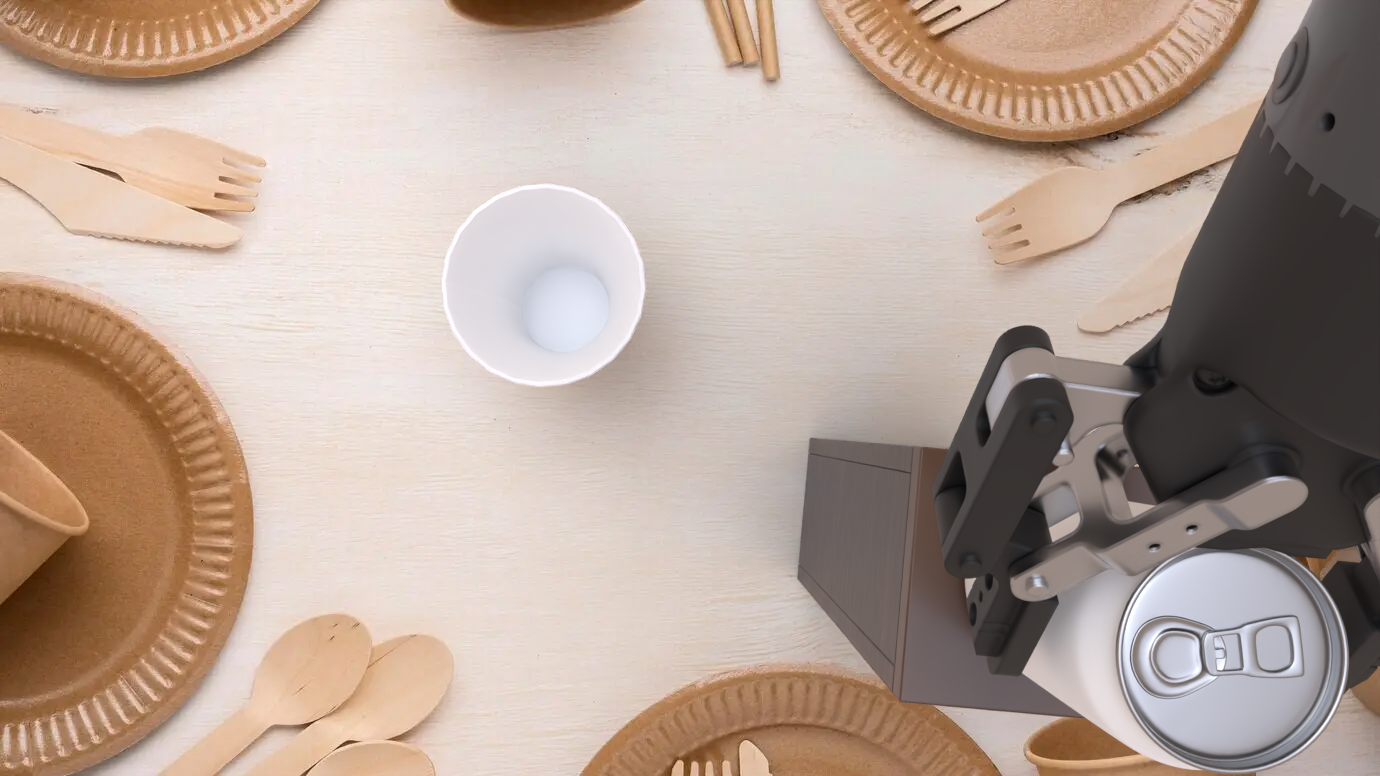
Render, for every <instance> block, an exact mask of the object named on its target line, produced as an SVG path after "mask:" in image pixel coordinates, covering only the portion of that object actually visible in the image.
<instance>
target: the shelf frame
mask: <svg viewBox="0 0 1380 776" xmlns="http://www.w3.org/2000/svg"><path fill="white" fill-rule="evenodd" d="M915 446H916V445H908V444H894V443H882V442H869V441H857V440H856V441H855V440H844V439H843V440H842V439H830V438H829V439H828V438H817V437H810V438H809V443H808V454H807V464H806V475H805V476H806V478H805V486H804V487H805V488H804V498H803V508H802V509H803V510H802V520H801V532H800V542H799V543H800V546H799V555H798V566H797V568H798V569H797V580H798V581H799V583H800V584H801V585H802V586H803V587H804V589H805V590H806V592H808V594H809V595H810V596H811V597H812V598H813V600H814V601H815V602H816V603H817V604H818V605H819V607H820V608H821V609H822V610H823V612H824V613H825V614H826V616H828V618H829V619H830V620H831V622H833V623H834V625H835V626H836V627H837V628H838V630H839V631H840V632H841V633H842V634H843V636H844V637H845V638H846V639H847V640H848V641H849V643H850V644H851V645H852V646H853V648H854V649H855V650H856V651H857V653H858V654H859V655H860V656H861V657H862V658H863V660H864V661H865V662H866V664H867V665H868V666H869V667H870V669H871V670H872V671H873V672H874V673H875V674H876V675H877V677H878V678H879V679H880V681H882V683H883V684H884V685H885V686H886V687H887V689H888V690H889V691H890V692H891V693H892V694H893V684H894V672H895V660H896V648H897V636H898V625H899V613H900V601H901V589H902V577H903V565H904V554H905V542H906V530H907V518H908V506H909V495H910V483H911V471H912V459H913V448H914V447H915Z"/></svg>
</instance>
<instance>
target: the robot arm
mask: <svg viewBox="0 0 1380 776" xmlns="http://www.w3.org/2000/svg"><path fill="white" fill-rule="evenodd" d="M1201 225H1202V226H1201V227H1200V230H1199V231H1198V232H1197V233H1198V234H1197V235H1196V237H1195V240H1194V242H1193V243H1192V246H1191V248H1190V250H1189V252H1188V254H1187V256H1186V258H1185V260H1184V262H1183V265H1182V268H1181V271H1180V273H1179V277H1178V280H1177V283H1176V287H1175V290H1174V294H1173V298H1172V301H1171V305H1170V308H1169V312H1168V314H1167V317H1166V320H1165V322H1164V324H1163V325H1162V327H1161V328H1160V330H1159V331H1158V332H1157V333H1156V334H1155V336H1153V337H1152V338H1151V339H1150V340H1149V341H1148V342H1147V343H1146V344H1145V345H1143V346H1142V347H1141V348H1140V349H1138V350H1137V351H1135V352H1134V353H1133V354H1131V355H1130V356H1129V357H1128V358H1127V359H1126V360H1124V362H1123V363H1122V364H1117V363H1109V362H1101V361H1097V360H1096V361H1094V360H1087V359H1082V358H1081V359H1080V358H1074V357H1066V356H1060V355H1056V353H1055V350H1054V347H1053V344H1052V341H1051V338H1050V335H1049V334H1048V332H1047V331H1046V330H1045V329H1043V328H1041V327H1039V326H1036V325H1029V324H1024V325H1019V326H1014V327H1012V328H1009V329H1007V330H1006V331H1004V332H1003V333H1002V334H1001V335H1000V336H999V337H998V338H997V340H996V342H995V344H994V346H993V348H992V351H991V353H990V355H989V357H988V360H987V362H986V364H985V366H984V369H983V371H982V374H981V375H980V378H979V380H978V382H977V384H976V387H975V389H974V391H973V394H972V396H971V397H970V400H969V402H968V405H967V407H966V409H965V412H964V414H963V415H962V418H961V420H960V423H959V425H958V427H957V430H956V432H955V434H954V436H953V438H952V441H951V443H950V444H949V445H950V446H949V447H948V449H949V450H948V452H947V454H946V456H945V459H944V461H943V463H942V465H941V468H940V470H939V472H938V474H937V477H936V479H935V481H934V483H933V486H932V492H933V498H934V504H935V511H936V517H937V523H938V530H939V536H940V542H941V549H942V555H943V561H944V567H945V569H946V571H947V572H948V573H949V574H950V575H952V576H954V577H958V578H963V579H972V578H976V580H975V581H974V583H973V585H972V589H971V590H970V592H969V595H968V597H967V599H966V603H967V609H968V615H969V620H970V626H971V632H972V638H973V644H974V648H975V652H976V655H980V656H986V658H987V663H988V668H989V671H990V673H991V674H992V675H1001V676H1013V677H1019V676H1020V675H1021V674H1022V672H1023V670H1024V668H1025V666H1026V664H1027V662H1028V661H1029V659H1030V657H1031V655H1032V653H1033V651H1034V649H1035V647H1036V646H1037V644H1038V642H1039V640H1040V638H1041V636H1042V634H1043V632H1044V631H1045V629H1046V627H1047V625H1048V623H1049V621H1050V619H1051V617H1052V615H1053V614H1054V612H1055V610H1056V608H1057V606H1058V604H1059V601H1058V596H1057V594H1059V593H1061V592H1063V591H1065V590H1067V589H1069V588H1071V587H1073V586H1075V585H1077V584H1079V583H1082V582H1084V581H1086V580H1088V579H1090V578H1092V577H1094V576H1096V575H1098V574H1100V573H1102V572H1104V571H1106V570H1109V569H1114V570H1116V571H1118V572H1119V573H1120V574H1122V575H1124V576H1135V575H1138V574H1140V573H1142V572H1145V571H1147V570H1149V569H1151V568H1153V567H1155V566H1157V565H1159V564H1161V563H1163V562H1165V561H1167V560H1169V559H1171V558H1173V557H1175V556H1177V555H1180V554H1182V553H1184V552H1186V551H1188V550H1190V549H1192V548H1194V547H1195V548H1206V549H1217V550H1237V549H1251V548H1267V549H1270V550H1274V551H1277V552H1280V553H1284V554H1287V555H1291V556H1293V557H1295V558H1296V557H1297V558H1306V559H1308V558H1309V559H1318V560H1327V558H1328V557H1329V556H1330V555H1331V553H1332V552H1333V551H1337V550H1345V549H1350V548H1353V547H1355V550H1356V553H1357V554H1358V555H1359V558H1360V562H1358V561H1357V562H1356V561H1349V560H1347V561H1346V560H1337V561H1336V562H1335V563H1334V564H1333V566H1332V567H1331V568H1330V569H1329V571H1328V572H1327V573H1326V574H1325V576H1324V577H1323V578H1322V580H1321V581H1322V583H1323V584H1324V585H1325V587H1326V588H1327V590H1328V591H1329V593H1330V594H1331V596H1332V597H1333V599H1334V601H1335V603H1336V605H1337V607H1338V609H1339V611H1340V614H1341V616H1342V619H1343V622H1344V626H1345V630H1346V634H1347V639H1348V648H1349V669H1348V677H1347V682H1346V687H1345V691H1344V694H1343V696H1344V695H1345V694H1346V693H1347V692H1348V691H1349V690H1350V689H1353V688H1355V687H1356V686H1358V685H1360V684H1362V683H1363V682H1365V681H1368V680H1369V678H1371V676H1372V675H1373V674H1374V673H1375V672H1376V671H1377V670H1378V669H1379V667H1380V0H1311V2H1310V4H1309V6H1308V8H1307V10H1306V12H1305V13H1304V16H1303V18H1302V20H1301V23H1300V24H1299V25H1298V29H1297V30H1296V32H1295V34H1294V35H1293V36H1292V38H1291V39H1290V40H1289V42H1288V44H1287V45H1286V46H1285V48H1284V50H1283V51H1282V53H1281V55H1280V57H1279V60H1278V62H1277V64H1276V67H1275V71H1274V75H1273V79H1272V82H1271V83H1270V86H1269V88H1268V90H1267V92H1266V94H1265V96H1264V98H1263V100H1262V102H1261V104H1260V106H1259V107H1258V110H1257V112H1256V114H1255V116H1254V119H1253V120H1252V123H1251V125H1250V127H1249V129H1248V131H1247V133H1246V135H1245V137H1244V139H1243V141H1242V143H1241V145H1240V148H1239V149H1238V151H1237V154H1236V155H1235V158H1234V160H1233V162H1232V163H1231V166H1230V167H1229V170H1228V171H1227V173H1226V176H1225V178H1224V180H1223V182H1222V184H1221V187H1220V189H1219V191H1217V195H1216V197H1215V198H1214V200H1213V202H1212V205H1211V207H1210V209H1209V210H1208V213H1207V215H1206V217H1205V219H1204V221H1203V223H1202V224H1201ZM1051 463H1052V464H1053V465H1055V466H1059V467H1058V468H1057V469H1056V470H1055V471H1053V472H1052V473H1050V474H1048V475H1046V476H1045V474H1046V472H1047V470H1048V468H1049V467H1050V465H1051ZM1133 466H1137V467H1139V468H1140V470H1141V472H1142V474H1143V476H1144V478H1145V481H1146V483H1147V485H1148V487H1149V489H1150V491H1151V493H1152V495H1153V498H1154V500H1155V502H1156V504H1157V505H1156V506H1155V507H1153V508H1151V509H1149V510H1147V511H1145V512H1143V513H1141V514H1139V515H1137V516H1135V517H1133V515H1132V512H1131V509H1130V506H1129V503H1128V501H1127V498H1126V495H1125V492H1124V488H1123V481H1124V478H1125V476H1126V474H1127V472H1128V471H1129V470H1130V469H1131V468H1132V467H1133ZM1044 476H1045V477H1044ZM1077 512H1079V515H1080V522H1079V525H1078V526H1077V528H1076V529H1075V530H1074V531H1073V532H1071V533H1069V534H1067V535H1065V536H1063V537H1062V538H1060V539H1058V540H1056V541H1054V542H1052V538H1051V535H1050V531H1049V528H1050V527H1052V526H1053V525H1055V524H1057V523H1059V522H1061V521H1063V520H1065V519H1066V518H1068V517H1070V516H1072V515H1074V514H1076V513H1077Z"/></svg>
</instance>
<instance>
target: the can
mask: <svg viewBox="0 0 1380 776" xmlns="http://www.w3.org/2000/svg"><path fill="white" fill-rule="evenodd" d="M1128 503H1129V506H1130V509H1131V512H1132V515H1133V517H1135V516H1137V515H1139V514H1141V513H1143V512H1145V511H1147V510H1149V509H1151V508H1153V507H1155V506H1154V505H1148V504H1142V503H1136V502H1129V501H1128ZM1079 522H1080V515H1079V512H1077V513H1076V514H1074V515H1072V516H1070V517H1068V518H1066V519H1065V520H1063V521H1061V522H1059V523H1057V524H1055V525H1053V526H1052V527H1050V528H1049V531H1050V535H1051V538H1052V542H1054V541H1056V540H1058V539H1060V538H1062V537H1063V536H1065V535H1067V534H1069V533H1071V532H1073V531H1074V530H1075V529H1076V528H1077V526H1078V525H1079ZM975 580H976V578H972V579H965V590H966V597H968V595H969V592H970V590H971V589H972V585H973V583H974V581H975ZM1057 596H1058V601H1059V604H1058V606H1057V608H1056V610H1055V612H1054V614H1053V615H1052V617H1051V619H1050V621H1049V623H1048V625H1047V627H1046V629H1045V631H1044V632H1043V634H1042V636H1041V638H1040V640H1039V642H1038V644H1037V646H1036V647H1035V649H1034V651H1033V653H1032V655H1031V657H1030V659H1029V661H1028V662H1027V664H1026V666H1025V668H1024V670H1023V672H1022V673H1023V674H1024V675H1025V676H1027V677H1028V678H1030V679H1031V680H1032V681H1034V682H1035V683H1037V684H1038V685H1039V686H1041V687H1042V688H1044V689H1045V690H1047V691H1048V692H1049V693H1051V694H1052V695H1054V696H1055V697H1056V698H1058V699H1059V700H1061V701H1062V702H1064V703H1065V704H1066V705H1068V706H1069V707H1071V708H1072V709H1074V710H1075V711H1076V712H1078V713H1079V714H1081V715H1082V716H1084V717H1085V718H1086V719H1085V720H1088V721H1089V722H1091V723H1092V724H1093V725H1095V726H1096V727H1098V728H1099V729H1101V730H1102V731H1104V732H1105V733H1106V734H1108V735H1109V736H1111V737H1113V738H1114V739H1116V740H1117V741H1119V742H1120V743H1122V744H1123V745H1125V746H1127V747H1128V748H1130V749H1131V750H1132V751H1134V752H1136V753H1138V754H1140V755H1142V756H1144V757H1146V758H1148V759H1151V760H1153V761H1154V762H1155V761H1156V762H1158V763H1161V764H1163V765H1166V766H1170V767H1173V768H1178V769H1184V770H1191V771H1193V770H1194V771H1205V772H1208V773H1213V774H1214V773H1215V774H1220V775H1248V774H1255V773H1260V772H1264V771H1267V770H1271V769H1274V768H1276V767H1278V766H1281V765H1284V764H1285V763H1287V762H1289V761H1291V760H1293V759H1295V758H1296V757H1298V756H1299V755H1301V754H1302V753H1303V752H1305V751H1306V750H1307V749H1308V748H1309V747H1311V746H1312V745H1313V744H1314V743H1315V742H1316V741H1317V740H1318V739H1319V737H1321V735H1322V734H1323V733H1324V732H1325V731H1326V729H1327V728H1328V727H1329V725H1330V724H1331V722H1332V721H1333V719H1334V717H1335V716H1336V713H1337V712H1338V709H1339V707H1340V704H1341V703H1342V700H1343V697H1344V695H1345V694H1344V691H1345V687H1346V682H1347V677H1348V669H1349V648H1348V639H1347V634H1346V630H1345V626H1344V622H1343V619H1342V616H1341V614H1340V611H1339V609H1338V607H1337V605H1336V603H1335V601H1334V599H1333V597H1332V596H1331V594H1330V593H1329V591H1328V590H1327V588H1326V587H1325V585H1324V584H1323V583H1322V580H1321V579H1320V578H1319V576H1318V575H1316V574H1315V572H1313V571H1312V569H1311V568H1309V566H1307V565H1305V564H1304V562H1302V561H1301V560H1299V559H1298V558H1296V556H1291V555H1287V554H1284V553H1280V552H1277V551H1274V550H1270V549H1267V548H1251V549H1237V550H1217V549H1206V548H1195V547H1194V548H1192V549H1190V550H1188V551H1186V552H1184V553H1182V554H1180V555H1177V556H1175V557H1173V558H1171V559H1169V560H1167V561H1165V562H1163V563H1161V564H1159V565H1157V566H1155V567H1153V568H1151V569H1149V570H1147V571H1145V572H1142V573H1140V574H1138V575H1135V576H1124V575H1122V574H1120V573H1119V572H1118V571H1116V570H1114V569H1109V570H1106V571H1104V572H1102V573H1100V574H1098V575H1096V576H1094V577H1092V578H1090V579H1088V580H1086V581H1084V582H1082V583H1079V584H1077V585H1075V586H1073V587H1071V588H1069V589H1067V590H1065V591H1063V592H1061V593H1059V594H1057ZM1343 694H1344V695H1343Z"/></svg>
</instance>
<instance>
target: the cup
mask: <svg viewBox="0 0 1380 776" xmlns="http://www.w3.org/2000/svg"><path fill="white" fill-rule="evenodd" d="M443 261H444V262H443V266H442V272H441V277H440V288H441V289H440V291H441V299H442V300H441V301H442V309H443V312H444V314H445V317H446V320H447V322H448V325H449V328H450V330H451V333H452V336H454V338H455V339H456V341H457V342H458V343H459V344H460V346H461V347H462V349H463V350H464V352H465V354H466V355H467V356H468V357H470V358H471V359H472V360H473V361H475V362H476V363H477V364H478V365H479V366H481V367H482V368H483V369H484V370H485V371H486V372H488V373H490V374H492V375H494V376H496V377H498V378H500V379H503V380H505V381H506V382H507V381H508V382H510V383H512V384H515V385H520V386H521V385H522V386H527V387H532V388H533V387H534V388H538V389H539V388H549V387H550V388H551V387H561V386H568V385H571V384H573V383H575V382H579V381H581V380H584V379H587V378H589V377H592V376H593V375H595V374H596V373H598V372H600V370H602V369H603V368H606V366H608V365H609V364H610V363H612V362H614V361H615V360H616V358H617V357H618V356H619V355H620V354H621V352H622V351H623V349H625V347H626V346H627V345H628V344H629V342H631V340H632V338H633V336H634V334H635V331H636V329H637V327H638V325H639V323H640V321H641V319H642V316H643V312H644V306H645V301H646V294H647V280H646V279H647V278H646V270H645V260H644V259H643V256H642V253H641V251H640V248H639V246H638V242H637V240H636V237H635V235H634V234H633V233H632V231H631V230H630V229H629V228H628V226H627V225H626V223H625V222H624V220H623V219H622V217H621V216H620V215H619V214H618V213H617V212H616V211H614V210H613V209H612V208H611V207H610V206H608V205H607V204H606V203H605V202H604V201H602V200H601V199H600V198H599V197H596V196H593V195H591V194H589V193H587V192H585V191H583V190H581V189H578V188H576V187H573V186H568V185H562V184H555V183H549V182H546V183H545V182H544V183H534V184H524V185H519V186H516V187H513V188H510V189H508V190H505V191H502V192H499V193H497V194H495V195H493V196H491V197H490V198H489V199H488V200H486V201H485V202H484V203H482V204H480V205H479V206H478V207H477V208H474V209H473V211H472V212H471V213H470V214H469V215H468V216H467V218H466V219H465V220H464V221H463V223H462V224H461V225H460V226H459V227H458V228H457V230H456V231H455V233H454V235H453V238H452V240H451V242H450V244H449V246H448V248H447V251H446V252H445V255H444V260H443Z"/></svg>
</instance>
